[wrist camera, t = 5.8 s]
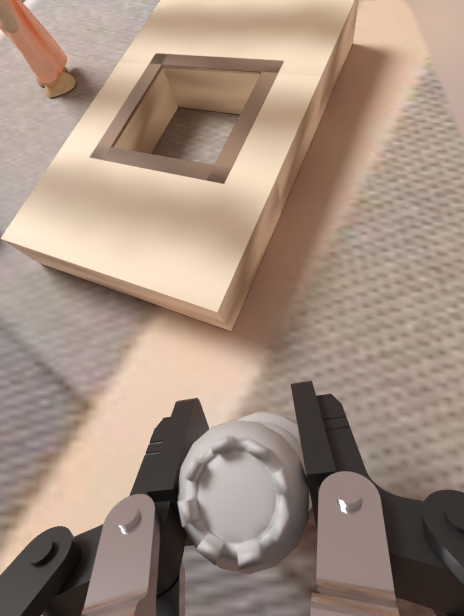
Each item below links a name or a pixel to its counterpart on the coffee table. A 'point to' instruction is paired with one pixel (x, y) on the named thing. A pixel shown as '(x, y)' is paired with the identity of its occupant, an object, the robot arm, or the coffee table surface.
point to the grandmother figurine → (36, 47)
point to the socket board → (181, 173)
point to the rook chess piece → (245, 492)
